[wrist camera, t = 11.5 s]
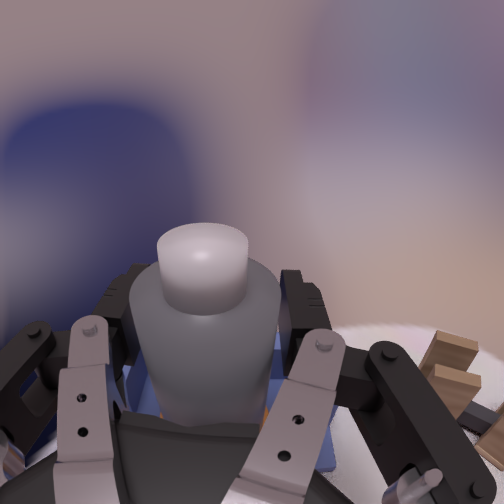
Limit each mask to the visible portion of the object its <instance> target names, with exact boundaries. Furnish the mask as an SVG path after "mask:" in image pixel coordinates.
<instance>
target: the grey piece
mask: <svg viewBox="0 0 504 504" xmlns="http://www.w3.org/2000/svg"><path fill="white" fill-rule="evenodd" d="M157 250H158V259H159V261H157V262H155V263H153V264H152V265H150V266H149V267H147V268H146V269H145V270H143V271H142V272H141V273H140V274H139V275H138V277H137V278H136V279H135V281H134V282H133V284H132V286H131V289H130V293H129V302H130V308H131V312H132V316H133V320H134V324H135V328H136V332H137V336H138V339H139V343H140V347H141V350H142V354H143V357H144V361H145V364H146V367H147V371H148V374H149V377H150V380H151V383H152V387H153V390H154V393H155V396H156V399H157V402H158V404H159V407H160V410H161V412H160V418H162V419H165V420H168V421H171V422H173V423H176V424H179V425H182V426H186V427H194V426H202V425H210V424H217V423H223V422H227V423H257V424H259V431H261V429H262V427H263V425H264V423H265V421H266V418H267V416H268V414H269V413H268V409H267V406H266V401H267V394H268V388H269V381H270V374H271V368H272V361H273V354H274V347H275V340H276V332H277V325H278V318H279V310H280V302H281V288H280V285H279V282H278V281H277V279H276V277H275V276H274V275H273V274H272V273H271V271H270V270H268V269H267V268H266V267H265V266H263V265H262V264H260V263H258V262H257V261H255V260H253V259H250V258H248V239H247V238H246V236H245V235H244V234H243V233H242V232H240V231H239V230H237V229H235V228H233V227H230V226H226V225H222V224H216V223H194V224H187V225H183V226H179V227H176V228H174V229H172V230H170V231H168V232H166V233H165V234H164V235H163V236H161V238H160V239H159V241H158V243H157Z"/></svg>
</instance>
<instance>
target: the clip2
mask: <svg viewBox="0 0 504 504" xmlns="http://www.w3.org/2000/svg"><path fill="white" fill-rule="evenodd" d="M495 412H496V413H498V414H500V415H501V416H500V417H499V418H498V419H497V421H496V422H495V423H494V424H493V425H492V426H491V427H490V428H489V429H488V430H487V431H486V432H485V433H484V434H482V435H481V437H480V438H479V440H478V441H477V443H476V444H475V446H474V448H475V449H476V451H477V452H478V453H479V454H481V455H482V456H483V457H484V458H486V459H487V460H488V461H489V462H491V463H492V464H493V465H494V466H496V467H497V468H498V469H500V470H501V471H503V470H504V402H503V403H502V404H501V406H500V407H499V408H498V409H497V410H496V411H495Z"/></svg>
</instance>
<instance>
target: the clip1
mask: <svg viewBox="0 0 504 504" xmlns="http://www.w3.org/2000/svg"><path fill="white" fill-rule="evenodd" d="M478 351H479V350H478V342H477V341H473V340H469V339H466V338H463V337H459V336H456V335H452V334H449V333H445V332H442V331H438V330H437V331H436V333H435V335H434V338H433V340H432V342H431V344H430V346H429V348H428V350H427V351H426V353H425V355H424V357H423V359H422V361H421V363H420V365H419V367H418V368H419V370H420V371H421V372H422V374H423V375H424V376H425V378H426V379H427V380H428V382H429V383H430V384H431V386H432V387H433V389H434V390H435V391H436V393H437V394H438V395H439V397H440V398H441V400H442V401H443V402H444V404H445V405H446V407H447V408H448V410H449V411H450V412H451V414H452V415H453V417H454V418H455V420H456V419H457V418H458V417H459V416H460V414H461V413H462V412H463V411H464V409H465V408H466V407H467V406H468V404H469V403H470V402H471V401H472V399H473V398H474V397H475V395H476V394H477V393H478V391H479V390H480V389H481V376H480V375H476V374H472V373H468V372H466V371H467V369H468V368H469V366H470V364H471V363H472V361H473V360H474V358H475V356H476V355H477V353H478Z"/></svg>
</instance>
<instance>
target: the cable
mask: <svg viewBox="0 0 504 504" xmlns="http://www.w3.org/2000/svg"><path fill="white" fill-rule="evenodd" d="M500 416H501V415H500V414H498V413H496V412H494V411H492V410H490V409H488V408H486V407H484V406H482V405H479V404H477V403H475V402H473V401H471V402H470V403H469V404H468V406H467V407H466V408H465V409H464V411H463V412H462V413H461V414H460V416H459V417H458V418H457V419H456V421H457V422H459V423H461V424H463V425H465V426H467V427H469V428H471V429H473V430H475V431H477V432H479V433H481V434H484V433H485V432H486V431H487V430H488V429H489V428H490V427H491V426H492V425H493V424H494V423H495V422H496V421H497V419H498V418H499V417H500Z"/></svg>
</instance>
